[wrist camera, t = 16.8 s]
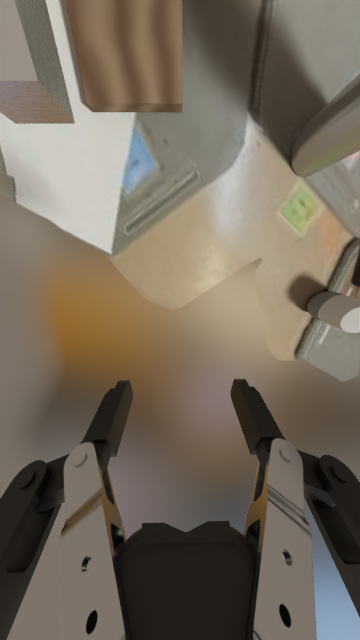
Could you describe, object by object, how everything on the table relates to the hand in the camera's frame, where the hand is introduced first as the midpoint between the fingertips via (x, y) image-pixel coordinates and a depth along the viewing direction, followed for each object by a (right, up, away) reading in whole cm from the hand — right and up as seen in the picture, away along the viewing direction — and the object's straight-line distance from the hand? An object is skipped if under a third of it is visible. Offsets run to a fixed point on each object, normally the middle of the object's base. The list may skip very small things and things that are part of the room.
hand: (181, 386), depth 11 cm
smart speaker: (+48, +11, +38) cm, 63 cm away
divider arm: (-8, +31, -10) cm, 34 cm away
